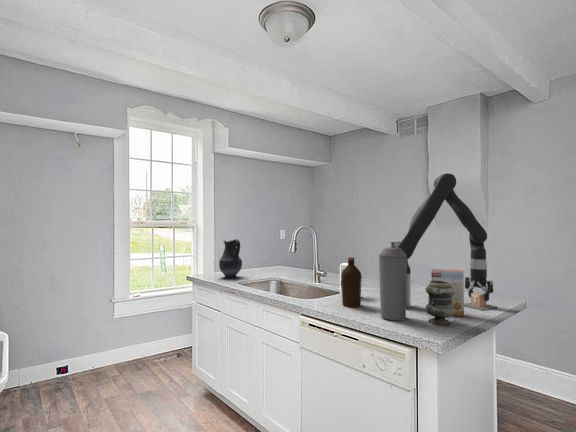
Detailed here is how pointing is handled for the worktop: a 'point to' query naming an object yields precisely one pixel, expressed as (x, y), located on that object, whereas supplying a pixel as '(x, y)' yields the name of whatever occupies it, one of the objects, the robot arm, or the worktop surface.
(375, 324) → the worktop surface
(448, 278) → the cracker box
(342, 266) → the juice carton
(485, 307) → the charcoal mat
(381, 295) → the canister
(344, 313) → the worktop surface
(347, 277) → the olive oil
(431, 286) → the apothecary jar
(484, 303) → the lettered block
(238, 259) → the pitcher
